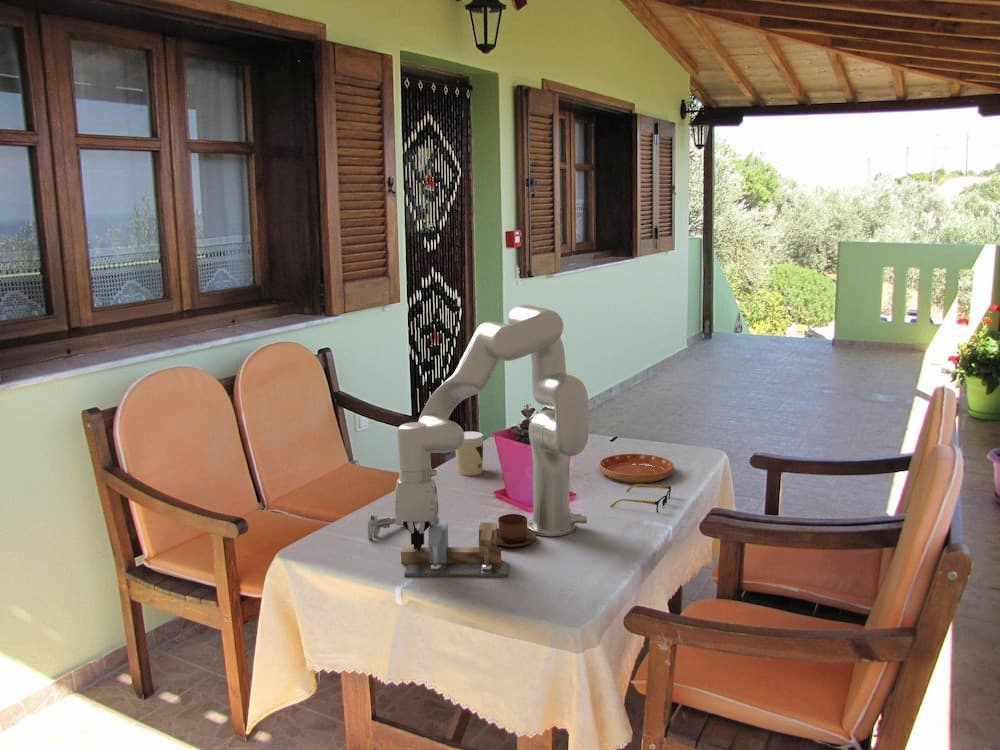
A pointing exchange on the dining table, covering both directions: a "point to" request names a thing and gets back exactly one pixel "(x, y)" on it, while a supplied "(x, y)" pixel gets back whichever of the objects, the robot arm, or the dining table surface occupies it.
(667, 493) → the eyeglasses
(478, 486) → the dining table surface
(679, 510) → the dining table surface
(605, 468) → the saucer
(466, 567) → the bolt plate
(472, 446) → the coffee cup
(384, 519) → the caliper
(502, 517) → the cup and saucer
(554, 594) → the dining table surface
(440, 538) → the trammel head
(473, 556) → the beam
